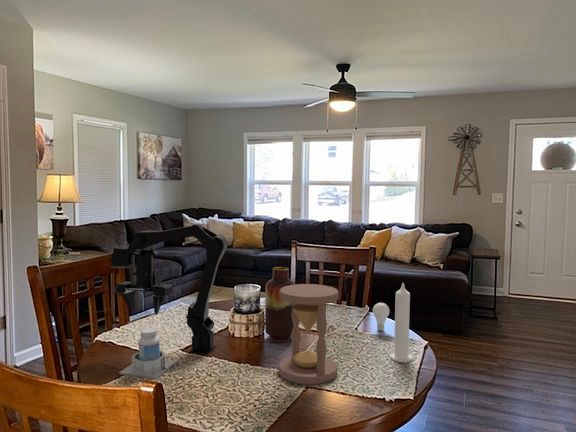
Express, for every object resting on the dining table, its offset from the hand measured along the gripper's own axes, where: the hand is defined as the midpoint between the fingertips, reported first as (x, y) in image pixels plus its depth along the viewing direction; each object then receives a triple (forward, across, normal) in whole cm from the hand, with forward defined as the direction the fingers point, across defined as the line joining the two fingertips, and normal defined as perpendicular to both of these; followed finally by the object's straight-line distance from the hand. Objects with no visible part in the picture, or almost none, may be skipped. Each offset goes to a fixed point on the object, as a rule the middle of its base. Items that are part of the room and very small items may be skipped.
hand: (144, 313), depth 152 cm
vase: (+12, -42, -22) cm, 49 cm away
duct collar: (+12, -11, +15) cm, 22 cm away
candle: (+12, -85, -15) cm, 87 cm away
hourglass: (+12, -58, +4) cm, 59 cm away
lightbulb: (+12, -77, -42) cm, 89 cm away
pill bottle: (+12, -11, +15) cm, 22 cm away
